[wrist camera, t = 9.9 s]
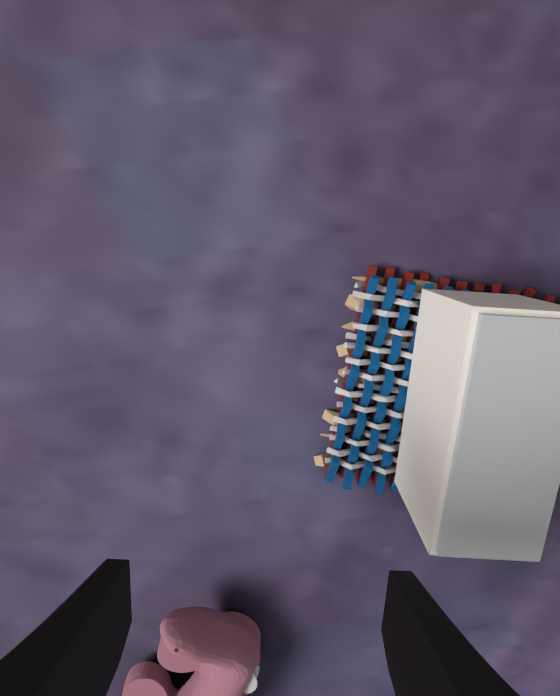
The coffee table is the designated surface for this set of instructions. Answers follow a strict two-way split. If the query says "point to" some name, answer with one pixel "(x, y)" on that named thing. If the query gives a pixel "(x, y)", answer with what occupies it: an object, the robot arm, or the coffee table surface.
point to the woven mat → (379, 375)
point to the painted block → (482, 425)
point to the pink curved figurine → (201, 655)
